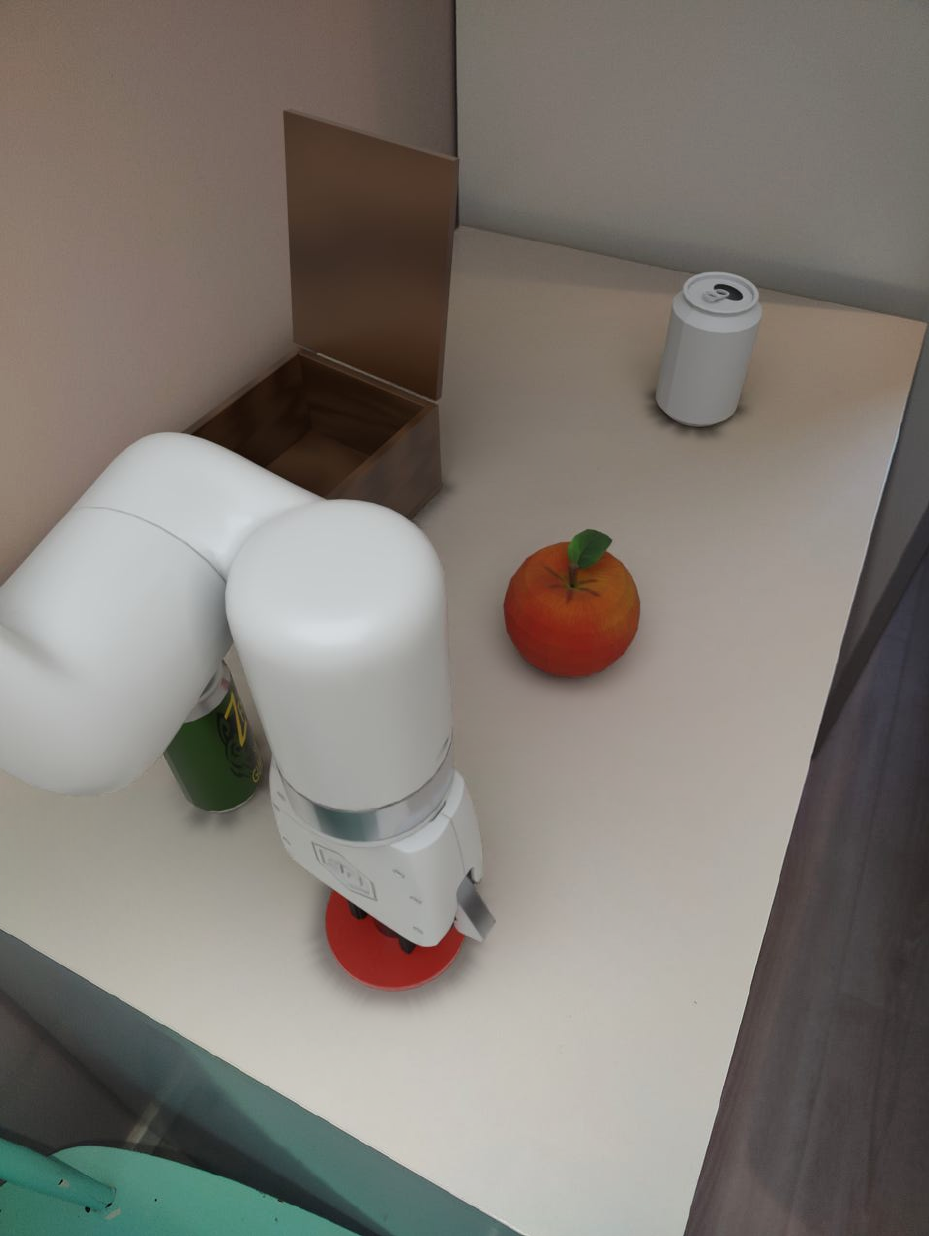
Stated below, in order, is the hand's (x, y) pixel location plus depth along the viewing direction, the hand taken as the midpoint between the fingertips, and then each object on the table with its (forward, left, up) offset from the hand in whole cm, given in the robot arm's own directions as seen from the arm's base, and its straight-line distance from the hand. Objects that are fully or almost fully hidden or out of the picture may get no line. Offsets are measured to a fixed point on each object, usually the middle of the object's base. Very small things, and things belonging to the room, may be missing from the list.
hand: (396, 912), depth 53 cm
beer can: (-13, +9, -1) cm, 15 cm away
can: (+22, +50, -1) cm, 55 cm away
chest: (-11, +34, -1) cm, 36 cm away
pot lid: (0, 0, -1) cm, 1 cm away
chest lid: (-6, +42, +17) cm, 46 cm away
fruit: (+10, +21, -1) cm, 23 cm away
